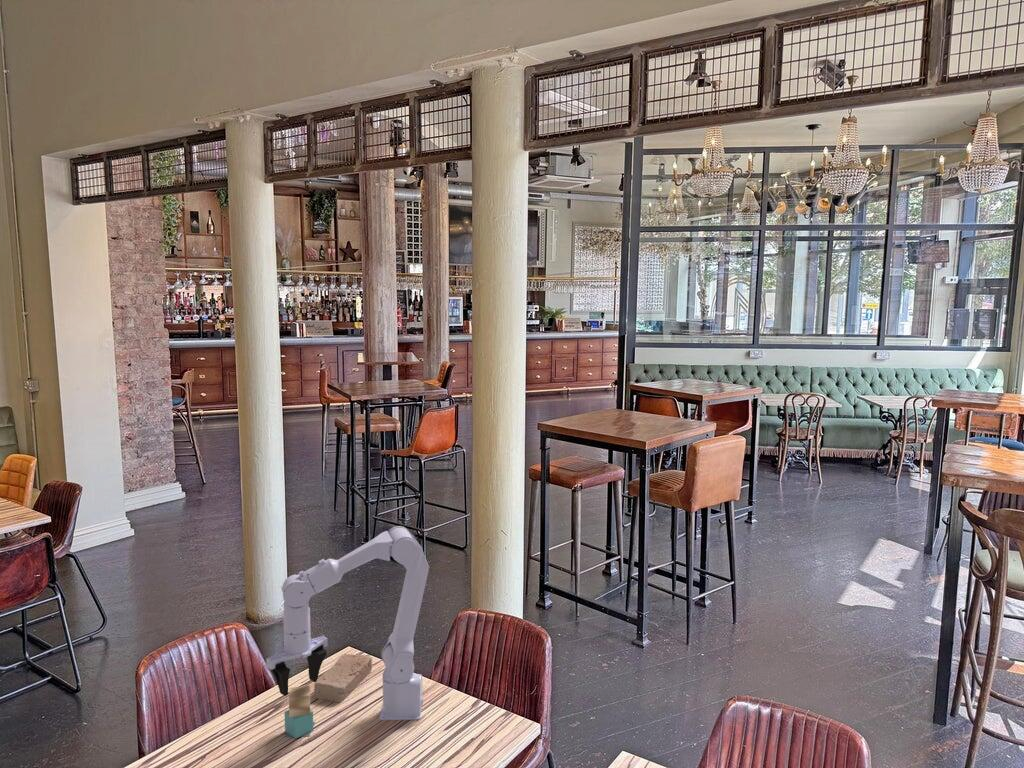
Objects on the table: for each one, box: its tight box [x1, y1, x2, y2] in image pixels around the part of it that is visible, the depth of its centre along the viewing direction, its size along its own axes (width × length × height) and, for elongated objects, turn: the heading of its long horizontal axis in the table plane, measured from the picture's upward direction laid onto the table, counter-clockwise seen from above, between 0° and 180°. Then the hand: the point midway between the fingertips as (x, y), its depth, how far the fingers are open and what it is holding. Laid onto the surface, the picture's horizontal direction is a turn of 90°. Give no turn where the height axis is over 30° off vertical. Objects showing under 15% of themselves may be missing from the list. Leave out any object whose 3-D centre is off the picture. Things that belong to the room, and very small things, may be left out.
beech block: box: [288, 684, 311, 717], centre depth 158 cm, size 4×4×4 cm
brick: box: [313, 653, 373, 703], centre depth 179 cm, size 17×8×5 cm, turn 165°
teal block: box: [284, 709, 314, 739], centre depth 158 cm, size 4×4×4 cm
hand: (298, 687), depth 158 cm, fingers open, 7 cm apart
